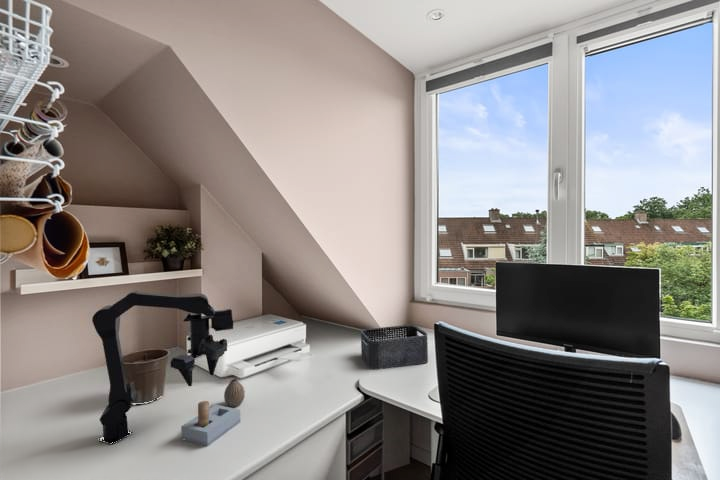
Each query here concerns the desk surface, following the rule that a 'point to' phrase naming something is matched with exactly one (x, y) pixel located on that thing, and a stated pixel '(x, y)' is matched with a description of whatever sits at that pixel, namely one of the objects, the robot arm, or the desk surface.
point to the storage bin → (394, 347)
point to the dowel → (203, 414)
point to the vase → (234, 393)
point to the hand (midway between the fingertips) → (201, 380)
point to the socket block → (211, 425)
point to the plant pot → (147, 373)
